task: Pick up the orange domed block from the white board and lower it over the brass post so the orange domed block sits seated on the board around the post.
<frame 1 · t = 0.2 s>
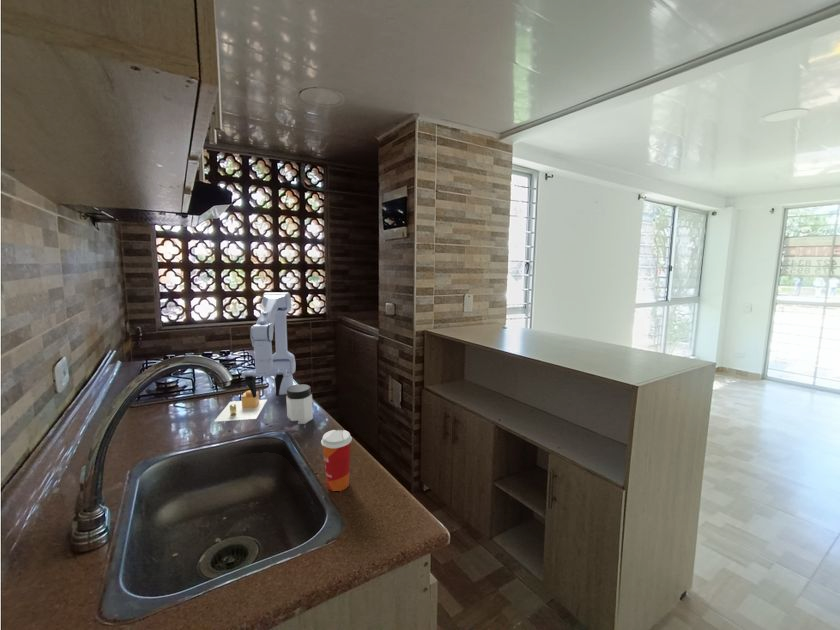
hand: (266, 395, 132), 10 cm above the counter, fingers open, 7 cm apart
white board: (242, 413, 141), on the counter
paper cup: (338, 486, 98), on the counter
orange domed block: (250, 405, 145), point 1 cm above the counter, touching white board
post: (233, 414, 137), resting on white board
jar: (300, 420, 136), on the counter
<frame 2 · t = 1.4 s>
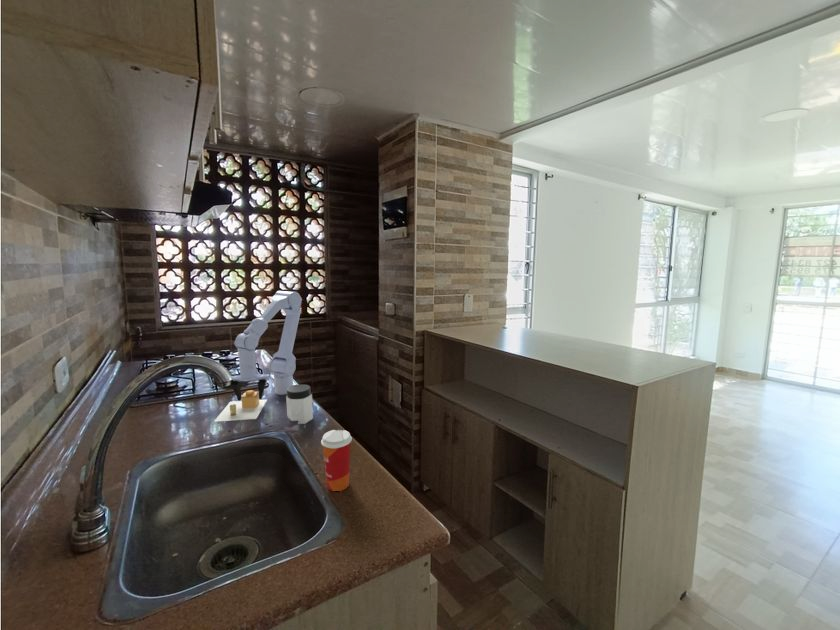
hand: (250, 399, 144), 4 cm above the counter, fingers open, 7 cm apart
nothing on the counter moved.
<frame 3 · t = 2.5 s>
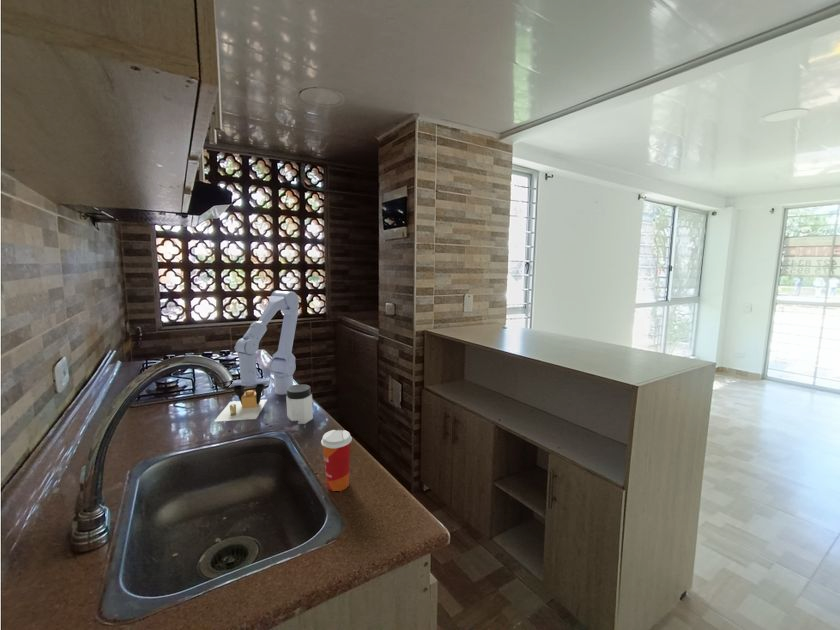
hand: (250, 403, 145), 2 cm above the counter, fingers closed on orange domed block, 5 cm apart
orange domed block: (250, 405, 145), point 2 cm above the counter, touching gripper, white board
everything else where it was.
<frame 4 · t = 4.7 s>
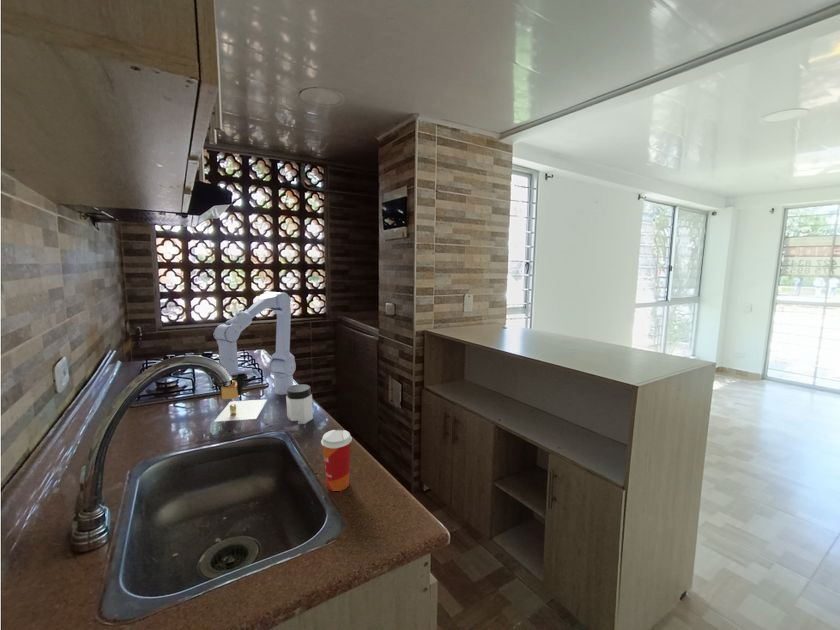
hand: (231, 394, 135), 9 cm above the counter, fingers closed on orange domed block, 5 cm apart
orange domed block: (231, 396, 135), point 9 cm above the counter, touching gripper
everything else where it was.
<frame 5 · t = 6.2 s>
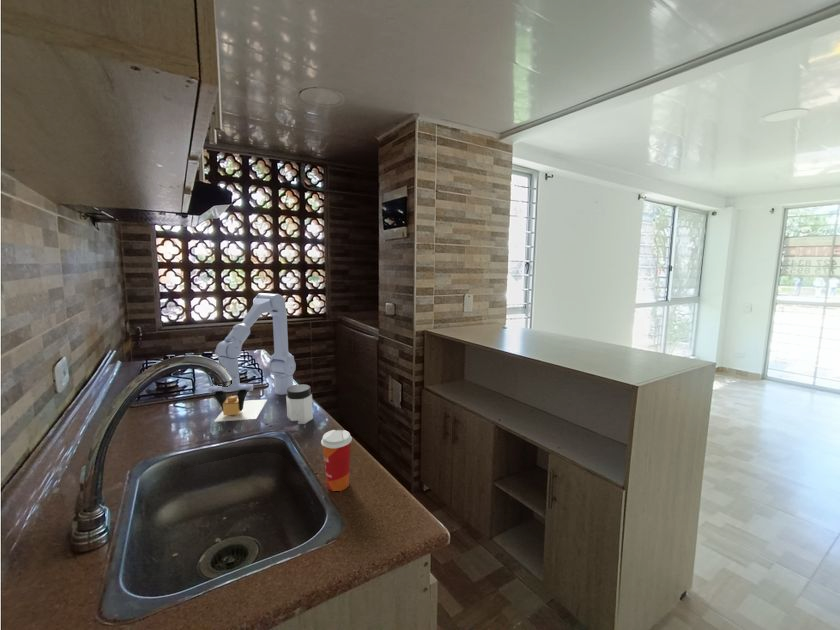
hand: (233, 410, 136), 3 cm above the counter, fingers closed on orange domed block, 5 cm apart
orange domed block: (233, 411, 136), point 3 cm above the counter, touching gripper
everything else where it was.
when the fingers open (3 cm above the counter, at t = 7.2 s): orange domed block drops 1 cm, resting on white board.
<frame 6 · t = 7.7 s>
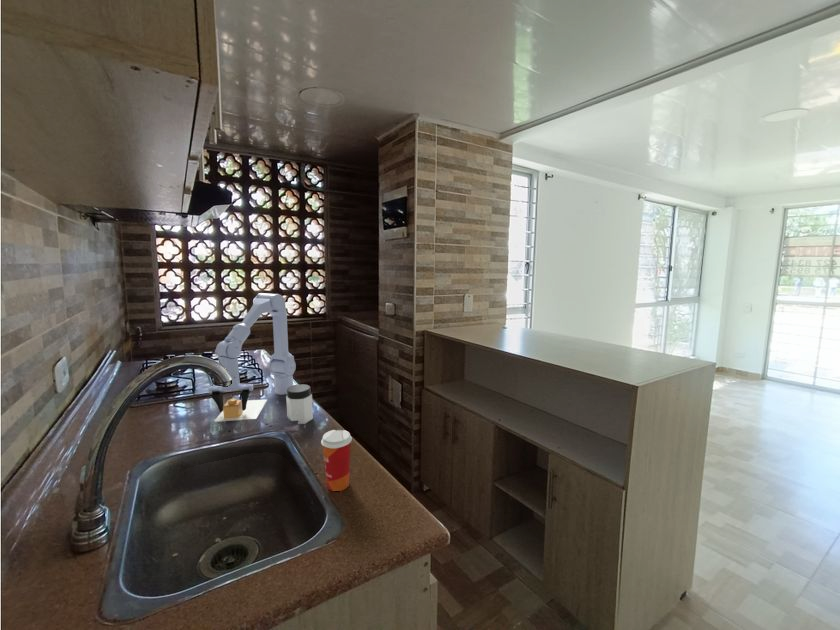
hand: (233, 410, 136), 3 cm above the counter, fingers open, 7 cm apart
orange domed block: (233, 414, 137), point 1 cm above the counter, touching white board
everything else where it was.
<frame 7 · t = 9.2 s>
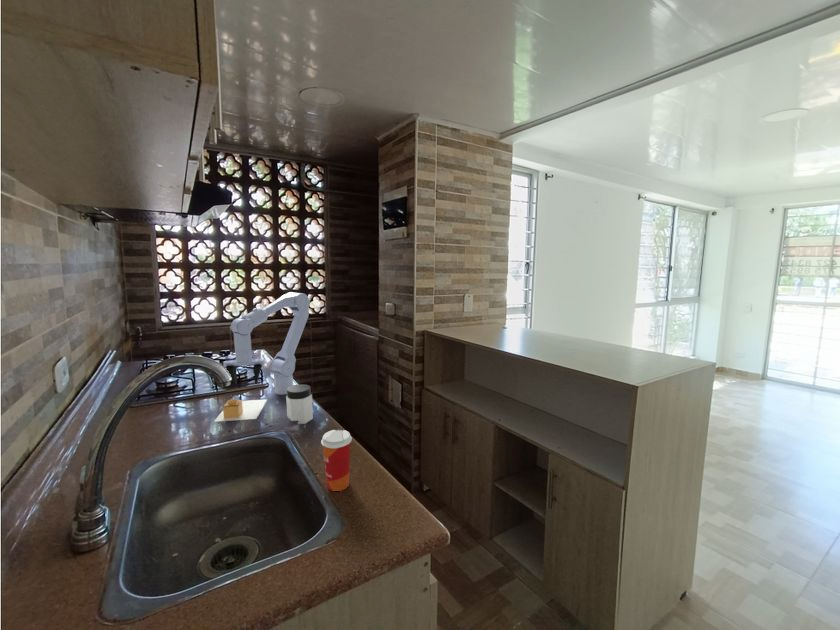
hand: (246, 383, 146), 9 cm above the counter, fingers open, 7 cm apart
nothing on the counter moved.
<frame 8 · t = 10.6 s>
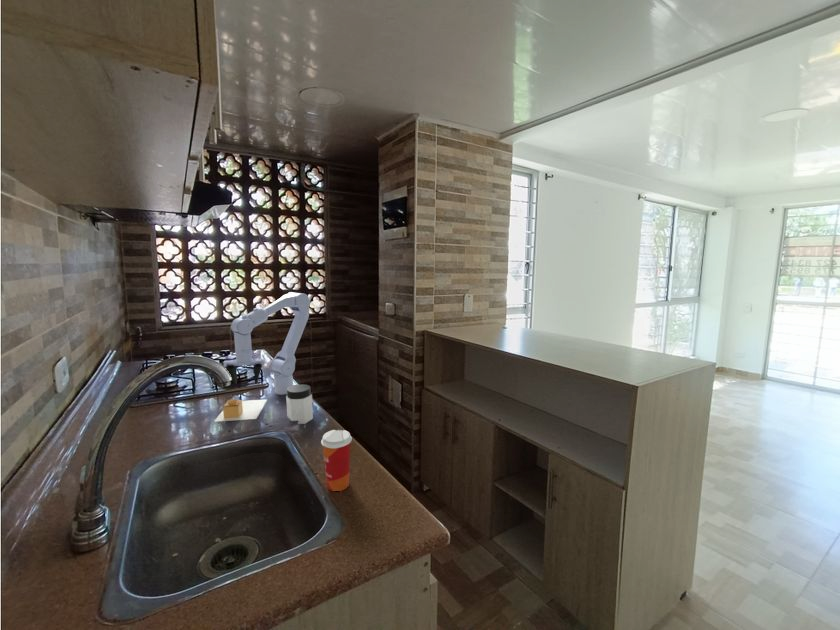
hand: (246, 383, 146), 9 cm above the counter, fingers open, 7 cm apart
nothing on the counter moved.
at the end: orange domed block 0.0 cm from the post (horizontally); orange domed block point 1.5 cm above the counter; orange domed block tilted 0° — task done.
